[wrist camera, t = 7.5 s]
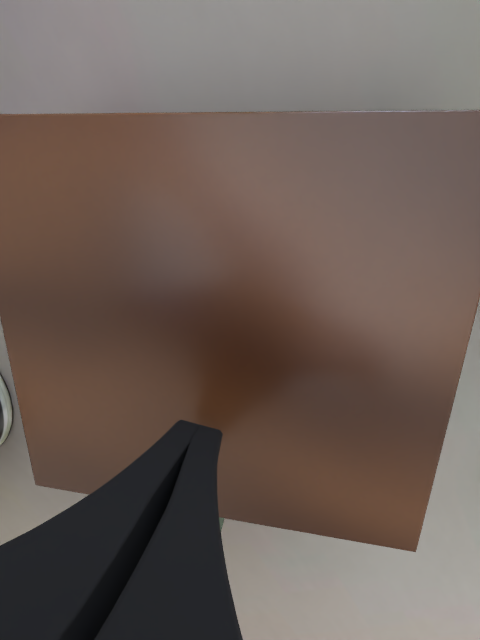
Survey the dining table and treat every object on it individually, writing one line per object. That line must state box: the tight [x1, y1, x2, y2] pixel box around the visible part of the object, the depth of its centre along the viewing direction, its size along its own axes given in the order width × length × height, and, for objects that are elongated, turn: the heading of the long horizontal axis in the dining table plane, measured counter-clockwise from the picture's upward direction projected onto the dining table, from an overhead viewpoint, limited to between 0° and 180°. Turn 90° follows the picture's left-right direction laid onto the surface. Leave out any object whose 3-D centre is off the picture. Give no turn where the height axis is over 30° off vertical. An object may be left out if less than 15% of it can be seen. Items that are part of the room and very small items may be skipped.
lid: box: [0, 110, 480, 552], centre depth 12 cm, size 13×14×1 cm
